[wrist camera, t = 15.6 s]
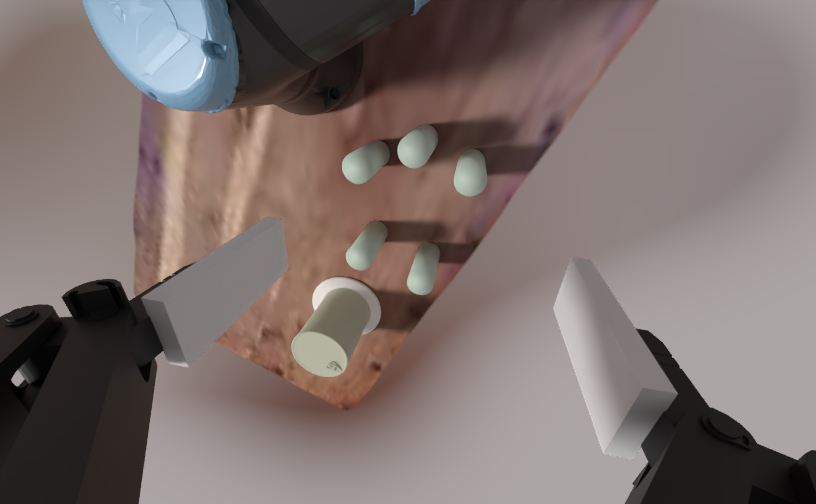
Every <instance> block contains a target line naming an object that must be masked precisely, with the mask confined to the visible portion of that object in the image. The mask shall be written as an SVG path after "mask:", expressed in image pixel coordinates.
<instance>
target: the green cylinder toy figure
mask: <svg viewBox="0 0 816 504" xmlns="http://www.w3.org/2000/svg"><path fill="white" fill-rule="evenodd" d="M370 317H371V310H370V307H369V304H368V303H367V301H366V300H365V299H364V298H363V297H362V296H361V295H360V294H358V293H357V292H355V291H353V290H350V289H346V288H337V289H333V290H331V291H329V292H328V293H327V294H326V295H325V296H324V298H323V300H322V302H321V303H320V305H319V306H318V308H317V309H316V310H315V312H314V313H313V315H312V316H311V317H310V319H309V320H308V321H307V323H306V324H305V325H304V327H303V328H302V329H301V331H300V332H299V333H298V335H297V336H296V337H295V338H294V339H293V341H292V346H291V349H292V353H293V356H294V358H295V359H296V361H297V362H298V363H299V364H300V365H301V366H302V367H303V368H305V369H306V370H308V371H309V372H311V373H313V374H316V375H319V376H324V377H334V376H337V375H340V374H342V373H343V372H344V371H345V370H346V368H347V366H348V363H349V361H350V358H351V356H352V354H353V352H354V349H355V347H356V345H357V343H358V341H359V339H360V337H361V335H362V332H363V330H364V328H365V326H366V325H367V323H368V322H369V320H370Z"/></svg>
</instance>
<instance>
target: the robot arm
mask: <svg viewBox="0 0 816 504" xmlns="http://www.w3.org/2000/svg"><path fill="white" fill-rule="evenodd" d="M82 1H83V4H84V7H85V10H86V12H87V14H88V17H89V20H90V22H91V24H92V26H93V28H94V30H95V32H96V34H97V36H98V38H99V40H100V42H101V43H102V45H103V47H104V48H105V50H106V51H107V53H108V54H109V56H110V57H111V59H112V60H113V61H114V63H115V64H116V65H117V67H118V68H119V69H120V70H121V71H122V73H123V74H124V75H125V76H126V77H127V78H128V79H129V80H130V81H131V82H132V83H133V84H134V85H135V86H136V87H138V88H139V89H140V90H141V91H142V92H144V93H145V94H146V95H148V96H149V97H151V98H152V99H154V100H158V101H159V102H161V103H163V104H165V105H166V106H168V107H170V108H173V109H177V110H181V111H200V112H205V113H215V112H221V111H223V110H226V109H235V108H244V107H253V106H261V105H270V104H274V105H276V106H278V107H280V108H282V109H284V110H286V111H288V112H291V113H294V114H299V115H317V114H322V113H326V112H329V111H331V110H333V109H335V108H337V107H338V106H340V105H341V104H342V103H343V102H345V101H346V99H347V98H348V97H349V96H350V95H351V93H352V92H353V90H354V88H355V86H356V84H357V82H358V79H359V76H360V72H361V67H362V59H363V46H362V41H363V40H365V39H366V38H368V37H370V36H372V35H373V34H375V33H377V32H378V31H380V30H382V29H383V28H385V27H387V26H389V25H390V24H392V23H394V22H395V21H397V20H399V19H400V18H402V17H404V16H406V15H407V14H409V15H410V16H413V15H415V14H416V13H417V12H418V11H419V10H420V8H421V6H423V5H425V4H426V3H428V2H429V1H431V0H82ZM288 268H289V266H288V259H287V252H286V245H285V238H284V232H283V225H282V219H279V218H271V217H266V218H264V219H263V220H261V221H260V222H258V223H257V224H255V225H254V226H252V227H250V228H249V229H247V230H246V231H244V232H243V233H241V234H239V235H238V236H236V237H235V238H233V239H232V240H230V241H229V242H227V243H225V244H224V245H222V246H221V247H219V248H218V249H216V250H215V251H213V252H211V253H210V254H208V255H207V256H205V257H204V258H202V259H201V260H199V261H197V262H195V263H192V264H190V265H187V266H185V267H183V268H181V269H179V270H178V271H176V272H175V273H173V274H172V276H168V277H167V278H165V279H163V280H162V282H159V283H157V284H156V285H154V286H152V287H151V288H149V289H148V290H146V291H144V292H143V293H141V294H140V295H138V296H136V297H135V298H133V299H132V300H130V301H129V300H128V298H127V296H126V294H125V292H124V289H123V287H122V285H121V283H120V282H119V281H117V280H114V279H103V280H96V281H92V282H88V283H84V284H82V285H79V286H77V287H75V288H73V289H71V290H70V291H68V292H66V293H65V294H64V295H63V297H62V299H63V300H64V302H65V304H66V306H67V307H68V309H69V311H70V313H71V314H72V316H73V317H61V318H60V317H59V316H58V315H57V313H56V311H55V310H54V308H53V306H49V305H33V306H26V307H22V308H21V309H20V308H18V309H15V310H13V311H11V312H10V313H7V314H5V315H3V316H1V317H0V504H139V497H140V489H141V481H142V475H143V467H144V460H145V452H146V445H147V438H148V430H149V423H150V416H151V409H152V401H153V394H154V386H155V379H156V371H157V363H156V361H155V357H156V356H157V355H158V354H160V353H161V352H162V351H164V353H165V356H166V358H167V361H168V363H169V364H174V365H179V366H184V367H190V366H191V365H192V364H193V363H194V362H195V361H196V360H197V359H198V358H199V357H200V356H201V355H202V354H203V353H204V352H205V351H206V350H207V349H208V348H209V347H210V346H211V345H212V344H213V343H214V342H215V341H216V340H217V339H218V338H219V337H220V336H221V335H222V334H223V333H224V332H225V331H226V330H227V329H228V328H229V327H230V326H231V325H232V324H233V323H234V322H235V321H236V320H237V319H238V318H239V317H240V316H241V315H242V314H243V313H244V312H245V311H246V310H247V309H248V308H249V307H250V306H251V305H252V304H253V303H254V302H255V301H256V300H257V299H258V298H259V297H260V296H261V295H262V294H263V293H264V292H265V291H266V290H267V289H268V288H269V287H270V286H271V285H272V284H273V283H274V282H275V281H276V280H277V279H278V278H279V277H280V276H281V275H282V274H283V273H284V272H285V271H286V270H287V269H288ZM553 309H554V312H555V315H556V318H557V321H558V324H559V327H560V330H561V333H562V336H563V338H564V341H565V344H566V347H567V350H568V353H569V356H570V359H571V362H572V365H573V368H574V371H575V374H576V376H577V379H578V382H579V385H580V388H581V391H582V394H583V397H584V399H585V402H586V405H587V408H588V411H589V414H590V417H591V420H592V423H593V426H594V429H595V432H596V434H597V437H598V440H599V443H600V446H601V449H602V452H603V454H607V455H612V456H616V457H621V458H626V459H631V460H633V458H634V457H635V455H636V454H637V453H638V451H639V450H640V448H641V447H642V449H643V451H644V453H645V456H646V458H647V460H648V463H647V465H646V466H645V467H644V469H643V470H642V471H641V473H640V474H639V475H638V477H637V478H636V480H635V481H634V482H633V485H634V487H633V489H632V491H631V493H630V495H629V497H628V499H627V501H626V502H625V504H816V451H814V450H811V451H809V452H807V453H806V454H804V455H803V456H802V457H801V458H800V459H799V460H796V459H793V458H791V457H788V456H786V455H783V454H781V453H779V452H776V451H774V450H771V449H769V448H766V447H764V446H761V445H759V444H757V443H756V441H755V439H754V438H753V436H752V435H751V434H750V433H749V432H748V431H747V430H746V429H745V428H744V427H743V426H742V425H741V424H740V423H738V422H737V421H735V420H734V419H732V418H731V417H729V416H728V415H726V414H724V413H722V412H720V411H718V410H716V409H714V408H710V407H709V406H708V405H707V403H706V402H705V401H704V399H703V398H702V397H701V395H700V394H699V392H698V391H697V389H696V388H695V387H694V385H693V384H692V382H691V381H690V380H689V378H688V377H687V376H686V374H685V373H684V371H683V370H682V369H680V368H679V365H678V363H677V362H676V361H675V359H674V358H672V355H671V354H670V352H669V351H668V349H667V348H666V346H665V345H664V344H663V342H661V341H660V340H659V339H658V338H656V337H655V336H654V335H653V334H652V333H650V332H649V331H647V330H641V329H635V327H634V326H633V324H632V323H631V321H630V319H629V318H628V316H627V315H626V313H625V312H624V310H623V309H622V307H621V306H620V304H619V303H618V301H617V300H616V298H615V296H614V295H613V293H612V292H611V290H610V289H609V287H608V286H607V284H606V283H605V281H604V280H603V278H602V277H601V275H600V273H599V272H598V271H597V269H596V267H595V266H594V264H593V263H592V261H591V260H590V259H584V258H576V257H571V258H570V261H569V264H568V267H567V270H566V273H565V276H564V279H563V281H562V284H561V287H560V290H559V293H558V296H557V299H556V302H555V305H554V308H553ZM17 370H19V371H20V373H21V374H22V376H23V377H24V378H25V380H24V381H23V382H22V383H21V384H20V385H19V386H18V387H17V386H15V385H14V384H13V383H12V381H11V378H12V377H13V375H14V374H15V372H16V371H17Z"/></svg>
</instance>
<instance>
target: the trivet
mask: <svg viewBox="0 0 816 504" xmlns="http://www.w3.org/2000/svg"><path fill="white" fill-rule="evenodd" d="M337 288H346V289H350V290H353V291H355V292H357V293H358V294H360V295H361V296H362V297H363V298H364V299H365V300H366V301H367V303H368V304H369V307H370V310H371V317H370V320H369V322H368V323H367V325H366V326H365V328H364V330H363V332H362V335H365V334H367V333H369V332H371V331H372V330H374V329H375V328H376V326H377V325H378V323H379V321H380V318H381V305H380V302H379V300H378V298H377V296H376V295H375V294H374V292H373V291H372V290H371V289H370V288H369V287H368V286H366V285H365V284H363V283H362V282H360V281H358V280H355V279H352V278H349V277H332V278H328V279H326V280H324V281H323V282H321V283H320V284H319V285H318V287H317V288H316V289H315V291H314V294H313V299H312V301H313V308H314V310H316V309H317V308H318V306H319V305H320V303H321V302H322V300H323V298H324V296H325V295H326V294H327V293H328V292H329V291H331V290H333V289H337Z"/></svg>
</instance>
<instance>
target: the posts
mask: <svg viewBox="0 0 816 504" xmlns="http://www.w3.org/2000/svg"><path fill="white" fill-rule="evenodd" d="M437 144H438V133H437V131H436V130H435V129H434V128H433V127H432V126H430V125H420V126H418V127H417V128H416V129H414V130H413V131H412V132H410V133H409V134H408V135H406V136H405V137H404V138H403V139H402V140H401V141H400V143H399V145H398V157H399V159H400V161H401V162H402V163H403V164H404V165H405V166H407V167H410V168H419V167H421V166H423V165H424V164H425V163H426V162H427V161H428V159H429V157H430V156H431V154H432V153H433V151H434V149H435V148H436V146H437ZM389 159H390V150H389V148H388V146H387V145H386V144H385V143H384V142H382V141H380V140H374V141H371V142H370V143H368V144H366V145H364V146H362V147H361V148H359V149H357V150H355V151H353V152H352V153H350V154H348V155H347V156H346V157H345V158H344V160H343V163H342V170H343V173H344V175H345V177H346V178H347V179H348V180H349V181H351V182H352V183H355V184H362V183H365V182H366V181H368V180H369V179H370V178H371V177H372V176H373V175H374V174H375V173H377V172H378V171H379V170H380V169H381V168H382V167H383V166H384V165H385V164H386V163H387V162H388V161H389ZM486 184H487V172H486V164H485V158H484V155H483V154H482V153H481V152H480V151H479V150H476V149H468V150H466V151H464V152H463V153H462V154H461V155H460V156H459V159H458V163H457V167H456V172H455V176H454V185H455V188H456V189H457V191H458V192H459V193H461V194H462V195H465V196H475V195H477V194H479V193H481V192H482V191H483V190H484V188H485V187H486ZM387 236H388V230H387V227H386V226H385V225H384V224H383V223H382V222H379V221H372V222H370V223H369V224H368V225H367V226H366V227H365V229H364V230H363V231H362V233H361V234H360V235H359V237H358V238H357V239H356V241H355V242H354V243H353V245H352V246H351V247H350V248H349V250H348V251H347V253H346V260H347V262H348V264H349V265H350V266H351V267H352V268H354V269H356V270H366V269H368V268H369V267H370V265H371V264H372V262H373V260H374V259H375V257H376V255H377V253H378V252H379V250H380V248H381V246H382V245H383V243H384V241H385V239H386V238H387ZM439 258H440V250H439V248H438V246H437V245H435V244H433V243H430V242H427V243H423V244H421V245H420V246H419V248H418V251H417V253H416V256H415V259H414V262H413V265H412V268H411V271H410V274H409V277H408V280H407V285H408V288H409V289H410V290H411V291H412V292H413V293H415V294H418V295H425V294H428V293H430V292H431V291H432V289H433V287H434V282H435V277H436V272H437V267H438V262H439Z"/></svg>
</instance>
